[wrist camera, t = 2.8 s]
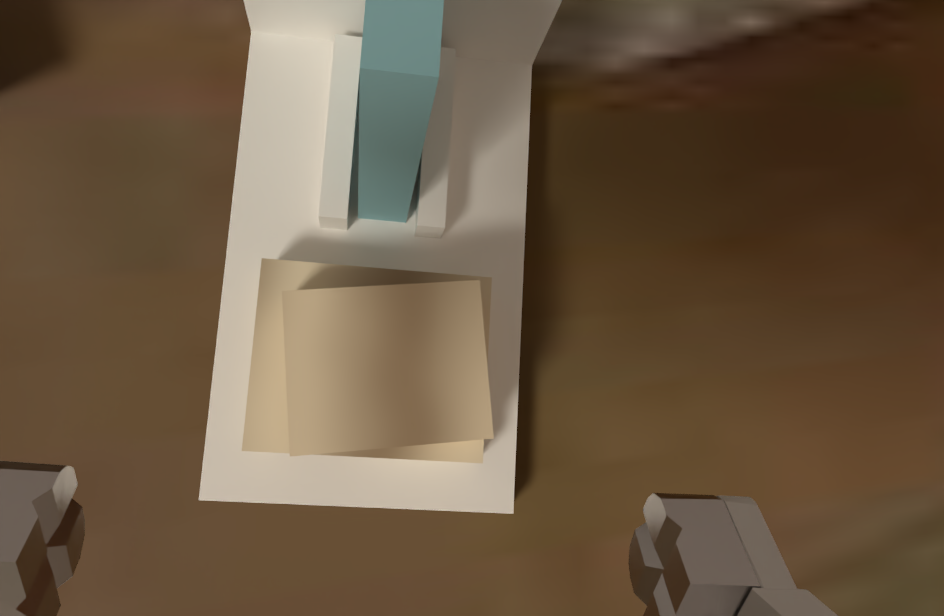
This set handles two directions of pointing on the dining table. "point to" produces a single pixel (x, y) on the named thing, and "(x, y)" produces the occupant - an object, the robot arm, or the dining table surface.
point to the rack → (376, 229)
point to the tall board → (395, 101)
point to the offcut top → (385, 366)
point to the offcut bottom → (268, 354)
